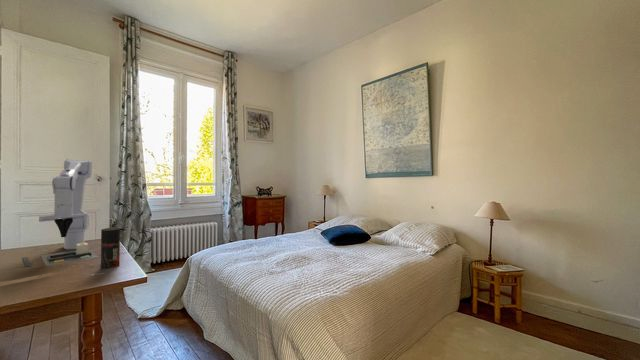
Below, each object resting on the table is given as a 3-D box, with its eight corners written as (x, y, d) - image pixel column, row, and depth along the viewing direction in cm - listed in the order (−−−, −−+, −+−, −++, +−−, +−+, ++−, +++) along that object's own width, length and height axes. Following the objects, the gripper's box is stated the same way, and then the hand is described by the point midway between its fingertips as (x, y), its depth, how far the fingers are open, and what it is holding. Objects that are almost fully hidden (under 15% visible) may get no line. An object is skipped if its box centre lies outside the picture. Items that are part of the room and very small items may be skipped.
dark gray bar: (22, 260, 113) (22, 257, 113) (27, 260, 114) (27, 256, 114) (25, 270, 103) (25, 266, 103) (30, 269, 104) (30, 265, 104)
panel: (40, 258, 117) (40, 253, 117) (88, 250, 129) (88, 246, 129) (46, 269, 104) (46, 263, 104) (99, 259, 117) (99, 255, 116)
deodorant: (111, 269, 106) (112, 230, 106) (96, 268, 106) (97, 230, 106) (123, 264, 112) (123, 227, 112) (108, 263, 112) (109, 227, 112)
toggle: (75, 254, 120) (76, 243, 120) (86, 252, 122) (86, 242, 122) (77, 256, 117) (77, 244, 117) (88, 254, 120) (88, 243, 120)
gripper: (40, 206, 107) (40, 241, 107) (88, 204, 118) (87, 235, 118) (38, 205, 111) (38, 238, 111) (84, 203, 122) (84, 233, 123)
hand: (63, 236), depth 115 cm, fingers closed
